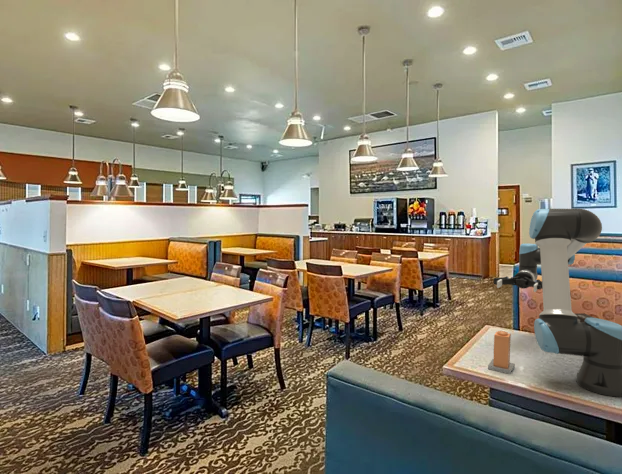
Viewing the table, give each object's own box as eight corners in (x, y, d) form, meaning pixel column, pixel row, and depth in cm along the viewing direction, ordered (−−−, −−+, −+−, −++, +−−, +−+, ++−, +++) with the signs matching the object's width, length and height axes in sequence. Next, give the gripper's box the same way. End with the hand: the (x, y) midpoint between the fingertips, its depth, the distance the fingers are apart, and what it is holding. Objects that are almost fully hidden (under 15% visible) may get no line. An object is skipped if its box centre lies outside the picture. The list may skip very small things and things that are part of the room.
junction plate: (514, 367, 149) (515, 349, 148) (510, 374, 142) (511, 356, 142) (492, 362, 154) (493, 345, 153) (488, 368, 147) (488, 351, 147)
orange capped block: (509, 363, 148) (510, 331, 148) (507, 368, 144) (508, 335, 144) (495, 360, 151) (496, 329, 150) (493, 365, 147) (494, 332, 146)
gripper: (555, 290, 167) (550, 299, 150) (494, 284, 182) (483, 291, 165) (556, 273, 166) (551, 281, 149) (494, 268, 181) (483, 274, 164)
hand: (515, 286), depth 157 cm, fingers open, 13 cm apart
